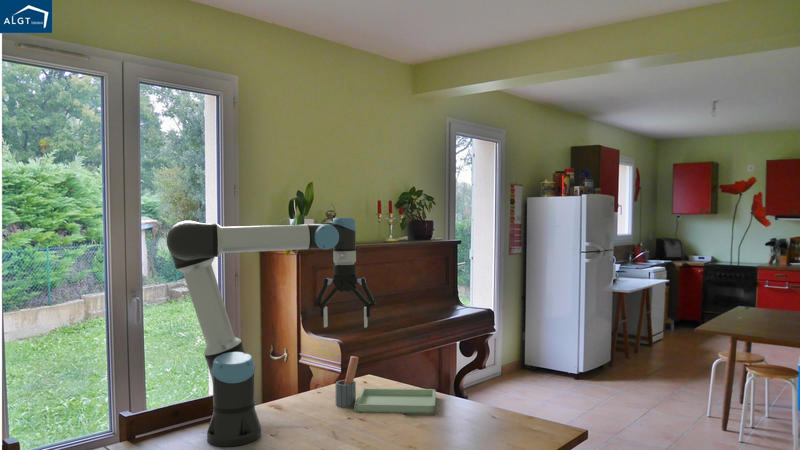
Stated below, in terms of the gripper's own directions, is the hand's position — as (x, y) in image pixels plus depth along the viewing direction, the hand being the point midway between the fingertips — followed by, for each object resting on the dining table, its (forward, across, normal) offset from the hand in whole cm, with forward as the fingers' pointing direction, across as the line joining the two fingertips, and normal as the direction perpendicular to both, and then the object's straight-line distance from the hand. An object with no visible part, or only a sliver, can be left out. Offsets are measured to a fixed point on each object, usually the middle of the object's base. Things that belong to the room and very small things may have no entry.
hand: (345, 326), depth 192 cm
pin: (+26, 0, 0) cm, 26 cm away
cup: (+27, 0, 0) cm, 27 cm away
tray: (+27, +17, +2) cm, 32 cm away
